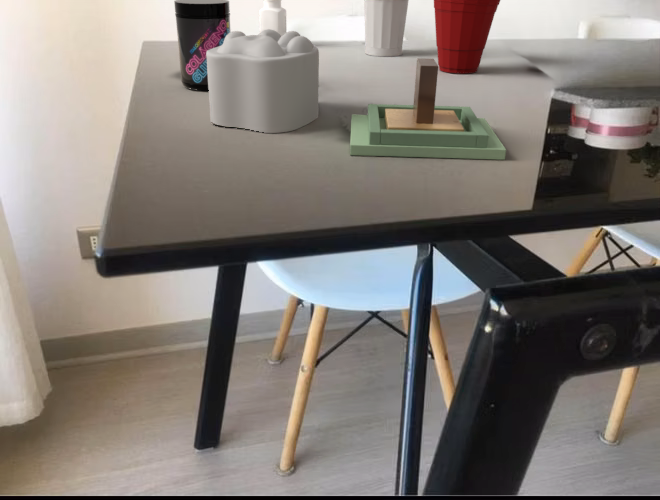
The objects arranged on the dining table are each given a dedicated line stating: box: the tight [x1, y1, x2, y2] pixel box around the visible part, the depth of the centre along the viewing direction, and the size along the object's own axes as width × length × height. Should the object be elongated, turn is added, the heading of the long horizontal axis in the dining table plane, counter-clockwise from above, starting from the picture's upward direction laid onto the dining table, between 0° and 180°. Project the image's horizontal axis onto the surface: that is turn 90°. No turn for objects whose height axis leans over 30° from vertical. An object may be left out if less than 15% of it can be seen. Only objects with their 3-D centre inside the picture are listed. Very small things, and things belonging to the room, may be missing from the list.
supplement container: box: [173, 0, 232, 90], centre depth 80 cm, size 7×7×10 cm
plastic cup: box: [433, 0, 501, 75], centre depth 93 cm, size 11×11×12 cm
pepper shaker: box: [258, 0, 288, 36], centre depth 112 cm, size 4×4×10 cm
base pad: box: [349, 103, 507, 161], centre depth 61 cm, size 14×11×2 cm
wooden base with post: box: [385, 57, 464, 132], centre depth 60 cm, size 7×7×6 cm
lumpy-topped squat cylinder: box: [206, 29, 320, 134], centre depth 68 cm, size 10×13×9 cm
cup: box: [363, 0, 409, 57], centre depth 106 cm, size 8×8×12 cm
